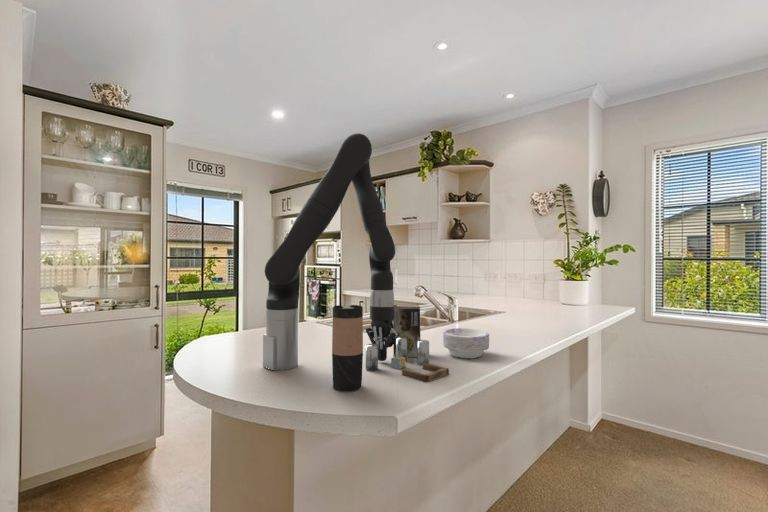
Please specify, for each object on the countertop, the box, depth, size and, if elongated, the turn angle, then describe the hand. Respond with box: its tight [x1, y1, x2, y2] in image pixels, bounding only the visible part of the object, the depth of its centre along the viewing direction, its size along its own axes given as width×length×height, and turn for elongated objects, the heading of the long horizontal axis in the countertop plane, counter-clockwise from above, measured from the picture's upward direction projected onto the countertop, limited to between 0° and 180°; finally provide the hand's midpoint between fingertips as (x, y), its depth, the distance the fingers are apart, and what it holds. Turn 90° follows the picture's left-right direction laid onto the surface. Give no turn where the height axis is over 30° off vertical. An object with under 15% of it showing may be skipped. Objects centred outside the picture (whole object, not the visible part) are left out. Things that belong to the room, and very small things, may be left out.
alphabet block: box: [390, 356, 406, 370], centre depth 111 cm, size 3×3×3 cm
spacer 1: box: [365, 343, 379, 372], centre depth 109 cm, size 4×4×7 cm
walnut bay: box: [401, 363, 450, 383], centre depth 104 cm, size 10×8×2 cm
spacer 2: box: [396, 337, 408, 362], centre depth 120 cm, size 4×4×7 cm
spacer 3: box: [416, 339, 430, 367], centre depth 115 cm, size 4×4×7 cm
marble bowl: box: [442, 327, 490, 359], centre depth 126 cm, size 15×15×8 cm
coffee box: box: [392, 305, 421, 358], centre depth 126 cm, size 9×6×16 cm
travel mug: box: [331, 304, 364, 393], centre depth 94 cm, size 8×8×20 cm
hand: (382, 360), depth 116 cm, fingers closed
